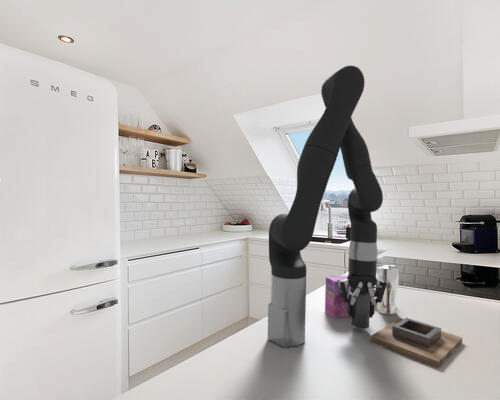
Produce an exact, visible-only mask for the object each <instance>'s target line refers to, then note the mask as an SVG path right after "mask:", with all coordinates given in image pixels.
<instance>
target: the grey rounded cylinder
mask: <svg viewBox="0 0 500 400" xmlns="http://www.w3.org/2000/svg"><path fill="white" fill-rule="evenodd" d="M353 293H354V292H353ZM354 305H355V311H354V318H351V317H350V318H351V323H350V324H351V325H352V326H353V327H355V328H358V329H362V330H363V329H364V330H365V329H368V328H369V327H370V319H371V318H370V295H369V294H366V293H361V294H359V295H358V297H357V298H356V300H355V303H354Z"/></svg>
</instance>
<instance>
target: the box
mask: <svg viewBox="0 0 500 400" xmlns="http://www.w3.org/2000/svg"><path fill="white" fill-rule="evenodd" d="M347 277H348V274H347V275H334V276H333V275H331V276H325V294H324V295H325V296H324V312H325V313H326V314H327V313H328V316H330V317H331V316H332V318H333V319H337V317H338V318H346V317H350V316H349V315H348V313H347V303H345V302H344V301H343V300H342V299H341V297H340V292H339V288H338V283H337V281H338V280H345V279H347ZM349 289H350V285H349V284H347V288H346V292H347V297H348V295H349Z"/></svg>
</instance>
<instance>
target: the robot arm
mask: <svg viewBox="0 0 500 400" xmlns="http://www.w3.org/2000/svg"><path fill="white" fill-rule="evenodd" d="M365 83H366V82H365V76H364V73H363V71H362V70H361V69H360V68H359V67H358V66H355V65H346V66H343V67H341V68H339V69H337V70H336V71H335V72H334V73H333V74H332V75H330V76H329V77H327V79H325V81H324V82H323V84H322V85H321V91H320V92H321V94H320V95H321V98H322V101H323V103H324V107H325V109H324V111H323V113H322V116H321V117H320V118H319V119H318V121H317V123H316V125H315V126H314V127H313V129H312V131H311V132H310V134H309V135H308V137H307V139H306V141H305V143H304V145H303V148H302V151H301V154H300V157H299V159H298V162H297V169H296V191H295V196H294V199H293V201H292V204H291V207H290V209H289V210H288V211H289V212H288V213H280V214H277V215H276V216H275V217H274V218H273V219H272V220H271V222H270V225H269V228H268V260H269V263H270V264H269V265H270V267H271V268H270V269H271V278H270V279H271V281H270V282H271V285H270V302H269V303H268V305H267V340H269V341H271V342H273V343H274V344H276V345H278V346H280V347H282V348H284V349H286V348H287V347H289V348H290V347H298V346H300V345H302V344H304V343H305V341H306V307H307V306H306V302H307V265H306V262H305V261H304V260H303V258H302V254H301V252H302V251H303V250H304V249H306V248H307V247H308V246H309V244H310V242H311V241H312V239H313V235H314V232H315V228H316V224H317V220H318V216H319V212H320V208H321V207H320V206H321V204H322V201H323V197H324V195H325V193H326V189H327V186H328V183H329V180H330V177H331V174H332V172H333V170H334V167H335V164H336V162H337V158H338V156H339V152H341V157H342V162H343V166H344V170H345V174H346V177H347V179H348V180H351V181H352V182H353V186H354V188H353V189H352V190H351V191H350V192H349V193H348V197H347V209H348V217H349V221H350V238H349V239H350V242H349V248H348V267H347V269H348V271H347V273H348V274H347V275H348V277H347V279H345V280H338V281H337V283H338V288H339V292H340V297H341V299H342V300H343V301H344V302H345V303H347V313H348V315H349V316H348V317H350V318H354V311H355V305H354V303H355V300H356V298H357V297H358V295H359V294H361V293H366V294H369V295H370V319H371V318H373V316H374V315H375V310H376V308H375V306H376V305H377V303H378V302H379V303H380V302H382V299H383V295H384V292H385V288H386V285H387V284H386V282H384V281H382V280H377V278H376V273H377V265H378V264H377V257H378V241H377V240H378V224H377V223H376V222H375V221H374V220H373V219H372V213H374V212H376V211H379V209H380V208H381V207H382V205H383V201H384V194H383V190H382V188H381V185H380V183H379V181H378V178H377V176H376V174H375V172H374V171H373V167H372V162H371V156H370V152H369V148H368V146H367V144H366V141H365V139H364V137H363V136H362V135H361V133H360V131H358V128H357V127H356V125H355V123H354V121H353V119H352V116H353V113H354V112H355V110H356V108H357V105H358V103H359V101H360V99H361V97H362V95H363V93H364V90H365ZM347 284H349V285H350V289H349V295H348V297H347V292H346V288H347ZM374 286H375V287H376V289H375V290H376V291H375V294H374V292H373V287H374ZM353 292H354V293H353Z"/></svg>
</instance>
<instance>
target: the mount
mask: <svg viewBox="0 0 500 400" xmlns="http://www.w3.org/2000/svg"><path fill="white" fill-rule="evenodd" d="M370 342H371V343H374V344H376V345H379V346H382V347H384V348H387V349H390V350H392V351H394V352H397V353H399V354H402V355H404V356H407V357H409V358H412V359H415V360H417V361H419V362H422V363H425V364H427V365H430V366H433V367H435V368H437V369H439V368H440V367H442V366H443V364H445V362H446V361H447V360H448V359H449V358H450V357H451V356H452V355H453V354H454V352H455V351H456V350H457V349H458V348H460V346H461V345H462V344H463V337H462V336H458V335H455V334H452V333H448V332H446V331H443V330H442V327H439V326H436V325H433V324H432V325H431V324H428V323H425V322H421V321H419V320H415V319H412V318H408V317H405V318H401V317H400V318H398V319H396V320H395V321H393V322H391V323H389V324H388V325H386V326H384V327H383V328H381V329H379V330H378V331H376V332H375V333H373V334H372V335H371V334H370Z"/></svg>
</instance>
